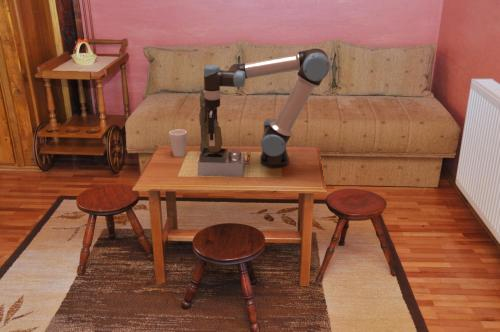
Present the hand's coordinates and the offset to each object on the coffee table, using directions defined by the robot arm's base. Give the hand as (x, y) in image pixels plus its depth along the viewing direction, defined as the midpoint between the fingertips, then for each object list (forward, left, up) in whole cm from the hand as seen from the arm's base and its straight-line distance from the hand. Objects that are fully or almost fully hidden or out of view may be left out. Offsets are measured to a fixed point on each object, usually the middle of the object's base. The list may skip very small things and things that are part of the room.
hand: (213, 142), depth 258 cm
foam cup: (+22, -19, -15) cm, 33 cm away
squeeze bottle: (-1, 0, -4) cm, 4 cm away
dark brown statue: (+6, -21, -15) cm, 26 cm away
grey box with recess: (-4, -2, -15) cm, 16 cm away
